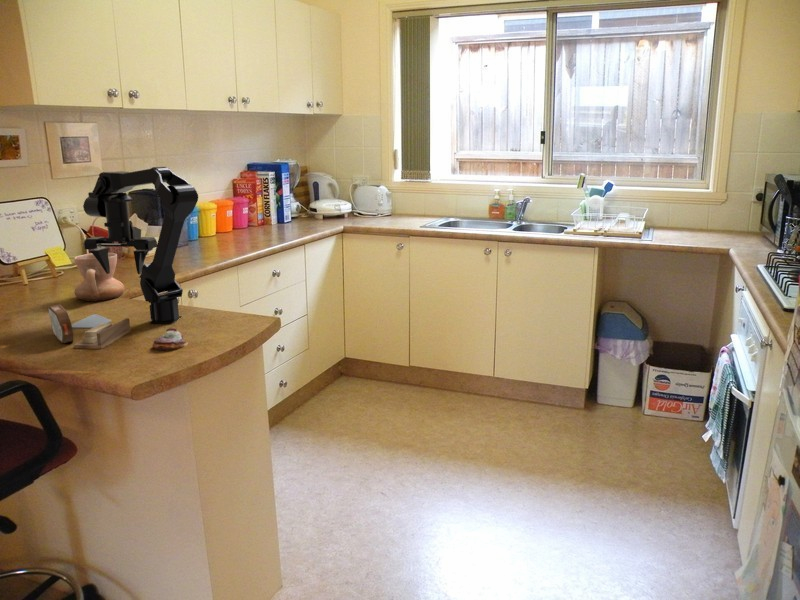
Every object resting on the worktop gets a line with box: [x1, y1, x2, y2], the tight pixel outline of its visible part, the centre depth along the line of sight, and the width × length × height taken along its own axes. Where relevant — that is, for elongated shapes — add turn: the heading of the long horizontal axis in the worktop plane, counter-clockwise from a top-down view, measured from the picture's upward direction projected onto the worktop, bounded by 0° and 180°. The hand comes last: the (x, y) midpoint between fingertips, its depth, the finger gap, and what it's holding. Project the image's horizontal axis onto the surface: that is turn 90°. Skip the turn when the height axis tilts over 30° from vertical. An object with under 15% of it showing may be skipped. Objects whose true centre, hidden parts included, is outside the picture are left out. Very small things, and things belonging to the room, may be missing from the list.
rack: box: [73, 317, 131, 350], centre depth 165 cm, size 7×14×4 cm, turn 174°
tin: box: [47, 303, 75, 344], centre depth 165 cm, size 15×3×8 cm, turn 37°
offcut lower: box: [81, 336, 97, 343], centre depth 165 cm, size 3×10×1 cm, turn 174°
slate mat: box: [71, 313, 113, 330], centre depth 185 cm, size 9×19×1 cm, turn 174°
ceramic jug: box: [73, 252, 125, 302], centre depth 206 cm, size 18×14×14 cm
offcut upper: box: [84, 322, 113, 337], centre depth 164 cm, size 3×8×1 cm, turn 174°
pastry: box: [152, 327, 189, 352], centre depth 158 cm, size 8×8×5 cm
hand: (123, 273), depth 184 cm, fingers open, 9 cm apart
